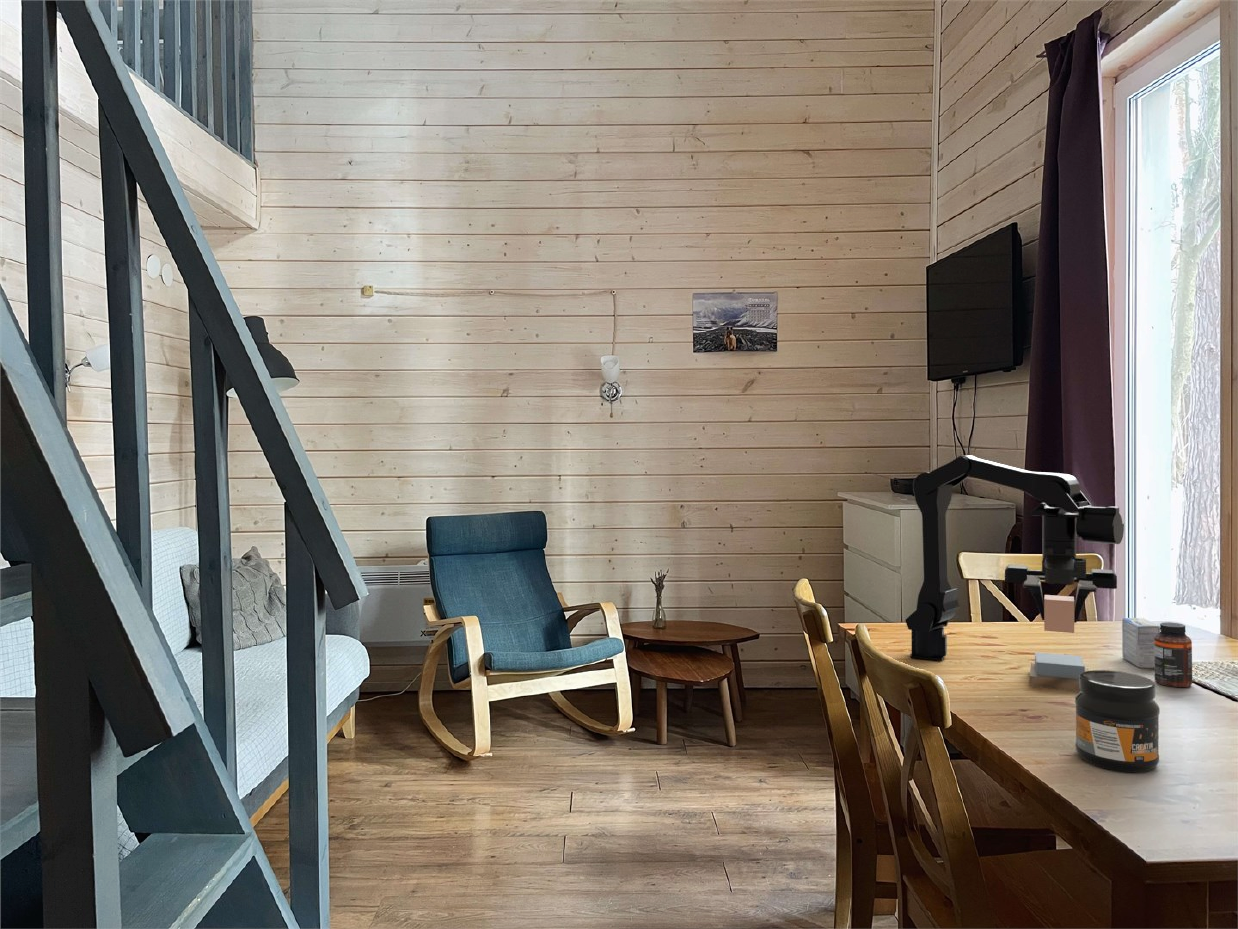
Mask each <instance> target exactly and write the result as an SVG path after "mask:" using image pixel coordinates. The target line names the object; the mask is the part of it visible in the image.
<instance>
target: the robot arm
mask: <svg viewBox="0 0 1238 929" xmlns="http://www.w3.org/2000/svg"><path fill="white" fill-rule="evenodd" d="M968 477H971V478H976V479H979V480H982V481H987V482H990V483H993V484H998V485H1001V486H1005V487H1009V488H1012V489H1016V490H1019V491H1022V492H1024V493H1026V494H1027V495H1028V496H1030V497H1032V498H1034V499H1036V500H1038V501H1040V503H1038V505H1037V507H1035V508H1034V509H1033V510H1031V511H1030V515H1031V516H1040V517H1042V533H1041V534H1042V539H1041V540H1042V546H1041V547H1042V550H1041V551H1042V554H1041V555H1042V557H1041V570H1038V569H1029V568H1028V564H1027V565H1026V564H1025V565H1023V564H1008V565H1007V566H1006V567H1005V569H1004V582H1005V583H1008V584H1009V583H1010V584H1023V585H1022V586H1023V588H1025V589H1029V590H1030V592H1031V595H1032V596H1033V598H1034V600H1035V602H1036V607H1037V609H1038V612H1039V614H1040V618H1041V620H1042V621H1044V597H1043V589H1042V583H1041V581H1044V582H1045V583H1047V584H1049V585H1054V584H1063V585H1066V586H1071V585H1074V584H1075V583H1077V589H1076V594H1075V600H1074V624H1076V623H1077V622H1078V620H1079V617H1080V614H1081V611H1082V609H1083V606H1084V603H1085V601H1086V599H1087V598H1088V596H1089V595H1090V594H1091V593H1096V592H1097V591H1098V590H1097V589H1107V590H1108V589H1111V590H1117V589H1118V576H1117V573H1116V572H1115V571H1114V570H1113V569H1101V568H1091V570H1090V572H1087V558H1085V557H1083V558H1082V557H1077V537H1078V538H1081V539H1082V541H1083V542H1086V543H1096V544H1097V543H1098V544H1109V545H1111V544H1112V545H1120V544H1122V540H1123V539H1124V538H1123V537H1124V530H1125V523H1123V517H1122V515H1121V514H1120V507H1119V506H1107V507H1106V506H1093V505H1092V503H1091V502H1090V501H1089V499H1088V498H1087V497H1086V496H1085V494H1084V493H1083V492H1082V491H1081V485H1080V482H1079V481H1078V479H1077V478H1076V477H1075V476H1074V475H1071V474H1068V473H1060V472H1045V471H1043V472H1042V471H1031V470H1026V469H1024V468H1023V469H1022V468H1018V467H1014V466H1010V465H1007V464H1002V463H998V462H994V461H991V460H986V459H982V458H978V457H976V456H975V455H969V454H967V455H959V456H957V457H956V458H955V459H953V460H951V461H949V462H948V463H946V464H943V465H941V466H939V467H938V468H935V469H933V470H932V471H927V472H922V473H920V474H918V475H917V476H916V477H915V478H914V479H913V481H912V491H913V494H914V495H913V496H914V501H915V503H916V505H917V507H918V509H919V511H920V513H921V524H922V528H921V530H922V558H923V559H922V562H923V563H922V564H923V581H922V585H921V586H920V589H919V592H918V595H917V602H916V609H915V610H914V611H913V612H912V613H911V614H910V615H909V616H908V617H907V618H905V624H906V627H907V629H908V630H909V631H911V633H910V634H911V639H910V640H911V653H910V655H909V658H911V657H912V658H911V659H918V660H919V659H921V660H928V661H929V660H931V661H940V662H942V661H943V660H944V659H945V658H944V657H946V656H947V655H948V648H947V647H948V645H947V644H948V637H947V636H948V635H947V634H945V627H947V626H948V624H949V621H950V620H951V619H953V617H954V616H956V614H957V609H959V608H960V604H959V600H958V597H959V589H958V588H952V587H951V585H950V582H949V580H948V559H947V558H948V556H947V524H946V522H947V519H946V517H947V516H946V514H947V511H948V508H949V506H950V504H951V501H952V495H953V488H955V487H956V486H958V485H959V484H961V483H962V482H963V481H965V480H966V479H967V478H968ZM1049 505H1050V506H1049ZM1054 506H1055V507H1054ZM1056 506H1057V507H1056ZM1077 512H1078V513H1077Z"/></svg>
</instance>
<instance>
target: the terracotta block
mask: <svg viewBox="0 0 1238 929" xmlns="http://www.w3.org/2000/svg"><path fill="white" fill-rule="evenodd" d="M1043 603H1044V620H1043V622H1044V624H1043V628H1044V630H1043V631H1044V632H1055V633H1067V634H1075V623H1074V608H1075V597H1074V596H1069V595H1067V596H1066V595H1055V594H1053V595H1051V594H1044V597H1043Z"/></svg>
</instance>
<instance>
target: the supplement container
mask: <svg viewBox="0 0 1238 929" xmlns="http://www.w3.org/2000/svg"><path fill="white" fill-rule="evenodd" d="M1079 688H1080V690H1081V691H1078V693H1077V694H1076V695H1075V696H1074V703H1075V751H1076V753H1077V755H1078V756H1079V757H1080V758H1081V759H1083V760H1084V761H1086V762H1087V763H1089V764H1091V765H1094V766H1096V767H1099V768H1102V769H1105V770H1106V769H1107V770H1110V771H1114V772H1115V771H1116V772H1123V773H1124V772H1125V773H1143V772H1149V771H1151V770H1153V769H1155V768H1156V767H1157V766H1158V765H1159V762H1160V754H1159V742H1160V741H1159V730H1160V728H1159V727H1160V726H1159V722H1160V720H1159V718H1160V713H1161V711H1160V710H1161V708H1160V705H1159V704H1158V703H1157V702H1156V701H1155V699H1156V684H1155V682H1154V681H1153V680H1152V679H1150V678H1148V677H1145V676H1143V675H1139V674H1136V673H1130V672H1124V671H1118V670H1103V669H1100V670H1097V669H1096V670H1094V669H1093V670H1089V671H1086V672H1083V673H1081V674H1080V675H1079Z"/></svg>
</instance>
